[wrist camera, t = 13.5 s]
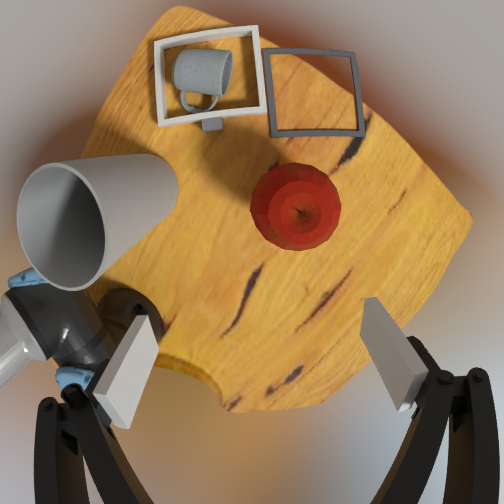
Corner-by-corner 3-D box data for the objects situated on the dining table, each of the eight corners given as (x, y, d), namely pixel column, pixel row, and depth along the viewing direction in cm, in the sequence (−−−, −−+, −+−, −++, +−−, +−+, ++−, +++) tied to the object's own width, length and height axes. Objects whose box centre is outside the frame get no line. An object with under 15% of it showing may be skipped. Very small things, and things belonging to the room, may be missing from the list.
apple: (336, 186, 44) (370, 201, 30) (300, 244, 47) (318, 280, 34) (274, 147, 41) (285, 144, 28) (237, 209, 45) (232, 234, 32)
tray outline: (271, 137, 41) (271, 137, 40) (262, 49, 35) (262, 48, 35) (364, 136, 40) (365, 136, 40) (354, 52, 35) (354, 52, 34)
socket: (164, 139, 41) (159, 138, 38) (158, 46, 34) (154, 41, 32) (267, 126, 40) (268, 124, 38) (257, 31, 34) (257, 25, 31)
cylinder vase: (184, 219, 46) (124, 288, 22) (121, 228, 46) (36, 291, 23) (174, 147, 41) (94, 146, 18) (110, 161, 42) (7, 181, 18)
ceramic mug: (187, 56, 35) (175, 41, 28) (235, 60, 36) (231, 44, 29) (174, 112, 39) (160, 106, 32) (223, 117, 40) (217, 111, 33)
